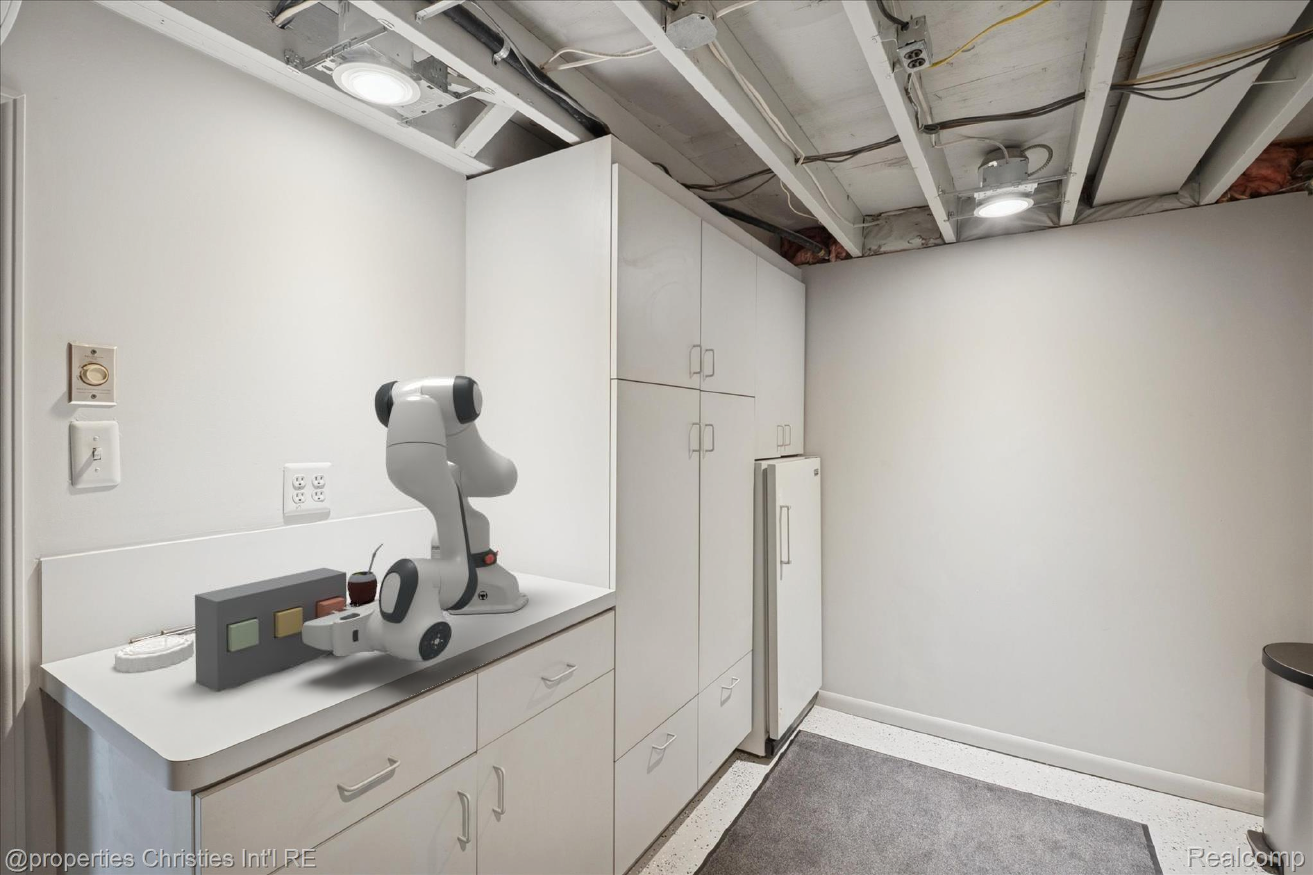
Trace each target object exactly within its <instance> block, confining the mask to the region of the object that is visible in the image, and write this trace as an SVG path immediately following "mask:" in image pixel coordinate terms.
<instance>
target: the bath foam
mask: <svg viewBox="0 0 1313 875" xmlns="http://www.w3.org/2000/svg"><path fill="white" fill-rule="evenodd" d="M440 558H441V554H440V547H439V540H438V533H437V529H436V530H435V531H434V533H433V534H432V537H431V539H430V559H440Z"/></svg>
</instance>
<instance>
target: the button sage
mask: <svg viewBox="0 0 1313 875" xmlns="http://www.w3.org/2000/svg"><path fill="white" fill-rule="evenodd" d="M256 644H259V633H258V620H257V619H254V618H250V619H246V620H243V621H239V622H235V623H231V624H227V650H229V651H235V650H239V649H242V648H246V647H249V646H252V645H256Z"/></svg>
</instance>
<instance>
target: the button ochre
mask: <svg viewBox="0 0 1313 875" xmlns="http://www.w3.org/2000/svg"><path fill="white" fill-rule="evenodd" d="M302 627H303V616H302V608H299V607H293V608H289V609H285V610H281V611H278V612H274V636H276V637H279V638H280V637H283V636H286V635H290V634H293V633H297V632H300V631H302Z"/></svg>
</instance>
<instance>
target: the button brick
mask: <svg viewBox="0 0 1313 875" xmlns="http://www.w3.org/2000/svg"><path fill="white" fill-rule="evenodd" d="M344 607H345V608H346V599H343V598H339V597H335V598H331V599H327V600H323V601H319V602H316V619H318V618H322V617H325V616H329V615H330V612H331V611H334V610H338V609H341V608H344Z"/></svg>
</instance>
